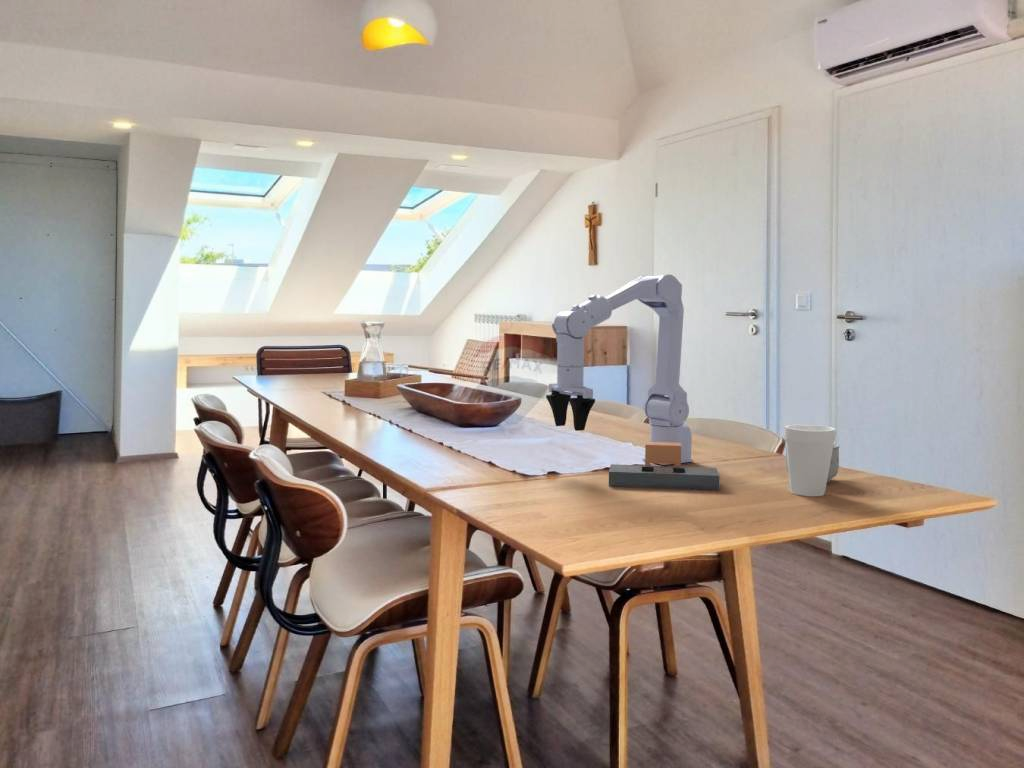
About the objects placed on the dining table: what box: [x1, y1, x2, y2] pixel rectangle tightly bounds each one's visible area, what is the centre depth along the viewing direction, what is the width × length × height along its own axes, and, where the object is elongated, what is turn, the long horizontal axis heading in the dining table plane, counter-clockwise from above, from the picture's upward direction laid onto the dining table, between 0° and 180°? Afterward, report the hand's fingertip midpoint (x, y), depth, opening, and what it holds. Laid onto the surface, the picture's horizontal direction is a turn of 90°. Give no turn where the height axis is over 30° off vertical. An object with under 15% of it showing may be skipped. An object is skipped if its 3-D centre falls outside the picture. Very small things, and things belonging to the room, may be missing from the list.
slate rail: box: [608, 463, 720, 492], centre depth 169 cm, size 22×8×3 cm, turn 80°
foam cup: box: [783, 423, 837, 497], centre depth 162 cm, size 10×9×13 cm
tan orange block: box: [644, 441, 682, 467], centre depth 178 cm, size 8×4×7 cm, turn 80°
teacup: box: [784, 443, 841, 483], centre depth 174 cm, size 14×11×8 cm
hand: (569, 428), depth 179 cm, fingers open, 7 cm apart
